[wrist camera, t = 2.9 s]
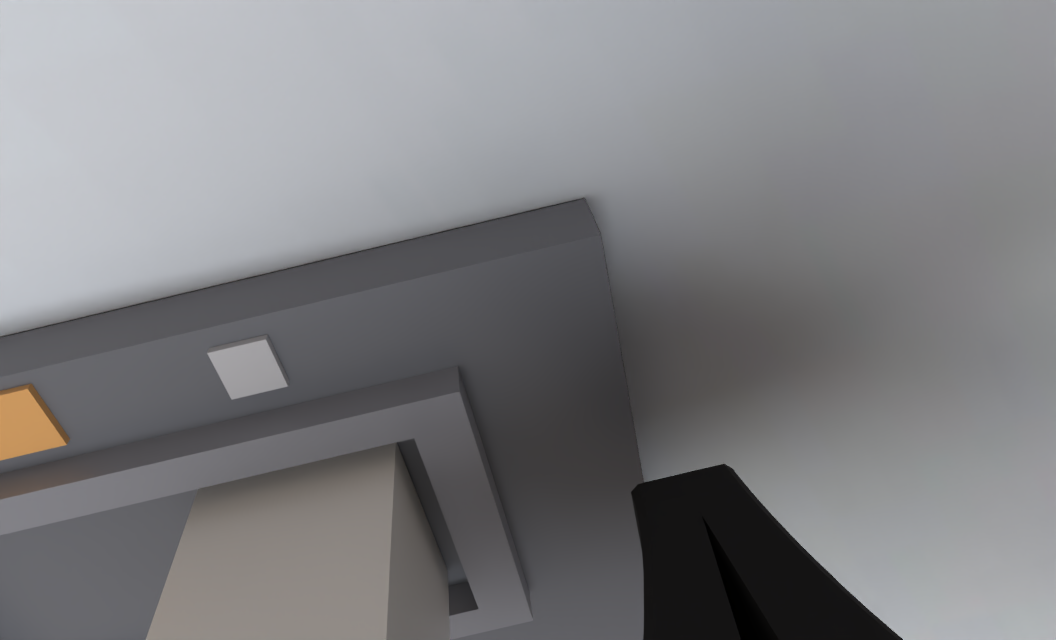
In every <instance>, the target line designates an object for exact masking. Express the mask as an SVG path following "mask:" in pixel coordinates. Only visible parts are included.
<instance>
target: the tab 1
mask: <svg viewBox="0 0 1056 640" xmlns="http://www.w3.org/2000/svg"><path fill="white" fill-rule="evenodd" d="M146 640H450V620H449V588H448V571H447V568H446V566H445V563H444V561H443V558H442V556H441V553H440V551H439V548H438V546H437V543H436V541H435V538H434V536H433V533H432V530H431V528H430V525H429V523H428V520H427V518H426V515H425V513H424V510H423V508H422V505H421V503H420V500H419V498H418V495H417V493H416V490H415V487H414V485H413V482H412V480H411V477H410V475H409V472H408V470H407V467H406V465H405V462H404V460H403V457H402V455H401V452H400V450H399V447H398V444H397V442H396V443H392V444H387V445H383V446H379V447H375V448H370V449H366V450H362V451H357V452H353V453H349V454H345V455H340V456H336V457H332V458H328V459H323V460H319V461H315V462H311V463H306V464H302V465H298V466H294V467H289V468H285V469H281V470H276V471H272V472H268V473H264V474H259V475H255V476H251V477H247V478H242V479H238V480H234V481H230V482H225V483H221V484H217V485H213V486H208V487H204V488H200V489H198V490H197V493H196V496H195V499H194V502H193V505H192V508H191V511H190V513H189V516H188V519H187V522H186V525H185V528H184V531H183V534H182V536H181V539H180V542H179V545H178V548H177V551H176V554H175V557H174V559H173V562H172V565H171V568H170V571H169V574H168V577H167V580H166V583H165V585H164V588H163V591H162V594H161V597H160V600H159V603H158V606H157V608H156V611H155V614H154V617H153V620H152V623H151V626H150V629H149V632H148V634H147V637H146Z"/></svg>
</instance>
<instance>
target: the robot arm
mask: <svg viewBox="0 0 1056 640" xmlns="http://www.w3.org/2000/svg"><path fill="white" fill-rule="evenodd" d="M631 495H632V501H633V506H634V511H635V517H636V522H637V527H638V533H639V538H640V544H641V549H642V557H643V573H644V635H643V640H903V639H902V638H901V637H899V636H898V635H897V634H896V633H895V632H894V631H892V630H891V629H890V628H889V627H888V626H887V625H886V624H884V623H883V622H882V621H881V620H880V619H879V618H878V617H876V616H875V615H874V614H873V613H872V612H871V611H869V610H868V609H867V608H866V607H865V606H864V605H863V604H862V603H861V602H860V601H858V600H857V599H856V598H855V597H854V596H853V595H852V594H851V593H850V592H849V591H847V590H846V589H845V588H844V587H843V586H842V585H841V584H840V583H839V582H838V581H837V580H836V579H835V578H834V577H833V576H832V575H831V574H830V573H829V572H828V571H827V570H826V569H824V568H823V567H822V566H821V565H820V564H819V563H818V562H817V561H816V560H815V559H814V558H813V557H812V556H811V555H810V554H809V553H808V552H807V551H806V550H805V549H804V548H803V547H802V546H801V545H800V544H799V543H798V542H797V541H796V540H795V539H794V538H793V537H792V536H791V535H790V534H789V533H788V532H787V531H786V529H785V528H784V527H783V526H782V525H781V524H780V523H779V522H778V521H777V520H776V519H775V518H774V517H773V516H772V515H771V513H770V512H769V511H768V510H767V509H766V508H765V507H764V506H763V505H762V503H761V502H760V501H759V500H758V499H757V498H756V497H755V495H754V494H753V493H752V492H751V491H750V490H749V488H748V487H747V486H746V485H745V484H744V483H743V481H742V480H741V479H740V478H739V476H738V475H737V474H736V473H735V471H734V470H733V469H732V468H731V467H729V466H727V465H725V464H721V465H717V466H713V467H709V468H704V469H700V470H696V471H692V472H687V473H683V474H679V475H675V476H670V477H666V478H662V479H658V480H653V481H649V482H645V483H641V484H638V485H637V486H636V487H635V488H634V489H633V490H632V491H631Z"/></svg>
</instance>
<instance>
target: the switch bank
mask: <svg viewBox="0 0 1056 640" xmlns="http://www.w3.org/2000/svg"><path fill="white" fill-rule="evenodd" d="M396 442H397V444H398V447H399V450H400V452H401V455H402V457H403V460H404V462H405V465H406V467H407V470H408V472H409V475H410V477H411V480H412V482H413V485H414V487H415V490H416V493H417V495H418V498H419V500H420V503H421V505H422V508H423V510H424V513H425V515H426V518H427V520H428V523H429V525H430V528H431V530H432V533H433V536H434V538H435V541H436V543H437V546H438V548H439V551H440V553H441V556H442V558H443V561H444V563H445V566H446V568H447V571H448V588H449V620H450V640H643V635H644V573H643V557H642V549H641V544H640V538H639V533H638V527H637V522H636V517H635V511H634V506H633V501H632V495H631V491H632V490H633V489H634V488H635V487H636V486H637V485H638V484H641V483H644V481H643V475H642V469H641V464H640V458H639V452H638V446H637V441H636V435H635V429H634V423H633V417H632V412H631V406H630V400H629V394H628V389H627V383H626V377H625V371H624V365H623V360H622V354H621V348H620V342H619V336H618V331H617V325H616V319H615V313H614V308H613V302H612V296H611V290H610V284H609V279H608V273H607V267H606V261H605V255H604V250H603V244H602V238H601V234H600V231H599V229H598V227H597V225H596V222H595V220H594V218H593V216H592V213H591V211H590V209H589V206H588V204H587V202H586V200H585V199H581V200H576V201H572V202H568V203H564V204H560V205H555V206H551V207H547V208H543V209H539V210H534V211H530V212H526V213H522V214H518V215H513V216H509V217H505V218H501V219H497V220H492V221H488V222H484V223H480V224H476V225H471V226H467V227H463V228H459V229H455V230H450V231H446V232H442V233H438V234H434V235H429V236H425V237H421V238H417V239H413V240H409V241H404V242H400V243H396V244H392V245H388V246H383V247H379V248H375V249H371V250H367V251H362V252H358V253H354V254H350V255H346V256H341V257H337V258H333V259H329V260H325V261H320V262H316V263H312V264H308V265H304V266H299V267H295V268H291V269H287V270H283V271H278V272H274V273H270V274H266V275H262V276H257V277H253V278H249V279H245V280H241V281H236V282H232V283H228V284H224V285H220V286H215V287H211V288H207V289H203V290H199V291H194V292H190V293H186V294H182V295H178V296H173V297H169V298H165V299H161V300H157V301H152V302H148V303H144V304H140V305H136V306H131V307H127V308H123V309H119V310H115V311H111V312H106V313H102V314H98V315H94V316H90V317H85V318H81V319H77V320H73V321H69V322H64V323H60V324H56V325H52V326H48V327H43V328H39V329H35V330H31V331H27V332H22V333H18V334H14V335H10V336H6V337H1V338H0V640H146V637H147V634H148V632H149V629H150V626H151V623H152V620H153V617H154V614H155V611H156V608H157V606H158V603H159V600H160V597H161V594H162V591H163V588H164V585H165V583H166V580H167V577H168V574H169V571H170V568H171V565H172V562H173V559H174V557H175V554H176V551H177V548H178V545H179V542H180V539H181V536H182V534H183V531H184V528H185V525H186V522H187V519H188V516H189V513H190V511H191V508H192V505H193V502H194V499H195V496H196V493H197V490H198V489H200V488H204V487H208V486H213V485H217V484H221V483H225V482H230V481H234V480H238V479H242V478H247V477H251V476H255V475H259V474H264V473H268V472H272V471H276V470H281V469H285V468H289V467H294V466H298V465H302V464H306V463H311V462H315V461H319V460H323V459H328V458H332V457H336V456H340V455H345V454H349V453H353V452H357V451H362V450H366V449H370V448H375V447H379V446H383V445H387V444H392V443H396Z"/></svg>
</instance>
